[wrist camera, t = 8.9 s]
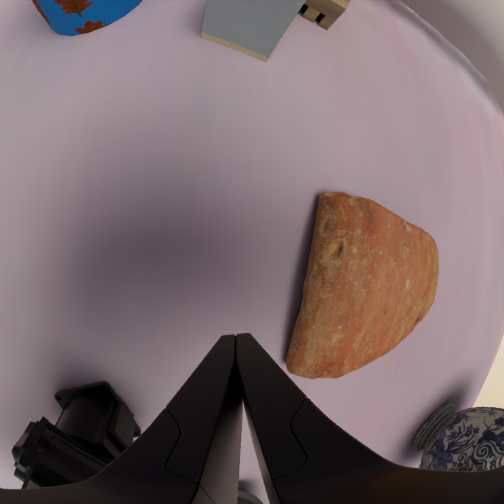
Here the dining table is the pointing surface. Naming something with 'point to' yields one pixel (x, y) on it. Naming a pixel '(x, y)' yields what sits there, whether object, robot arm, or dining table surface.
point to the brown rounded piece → (360, 287)
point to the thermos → (82, 14)
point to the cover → (249, 24)
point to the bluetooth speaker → (247, 498)
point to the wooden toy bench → (325, 10)
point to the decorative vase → (462, 439)
